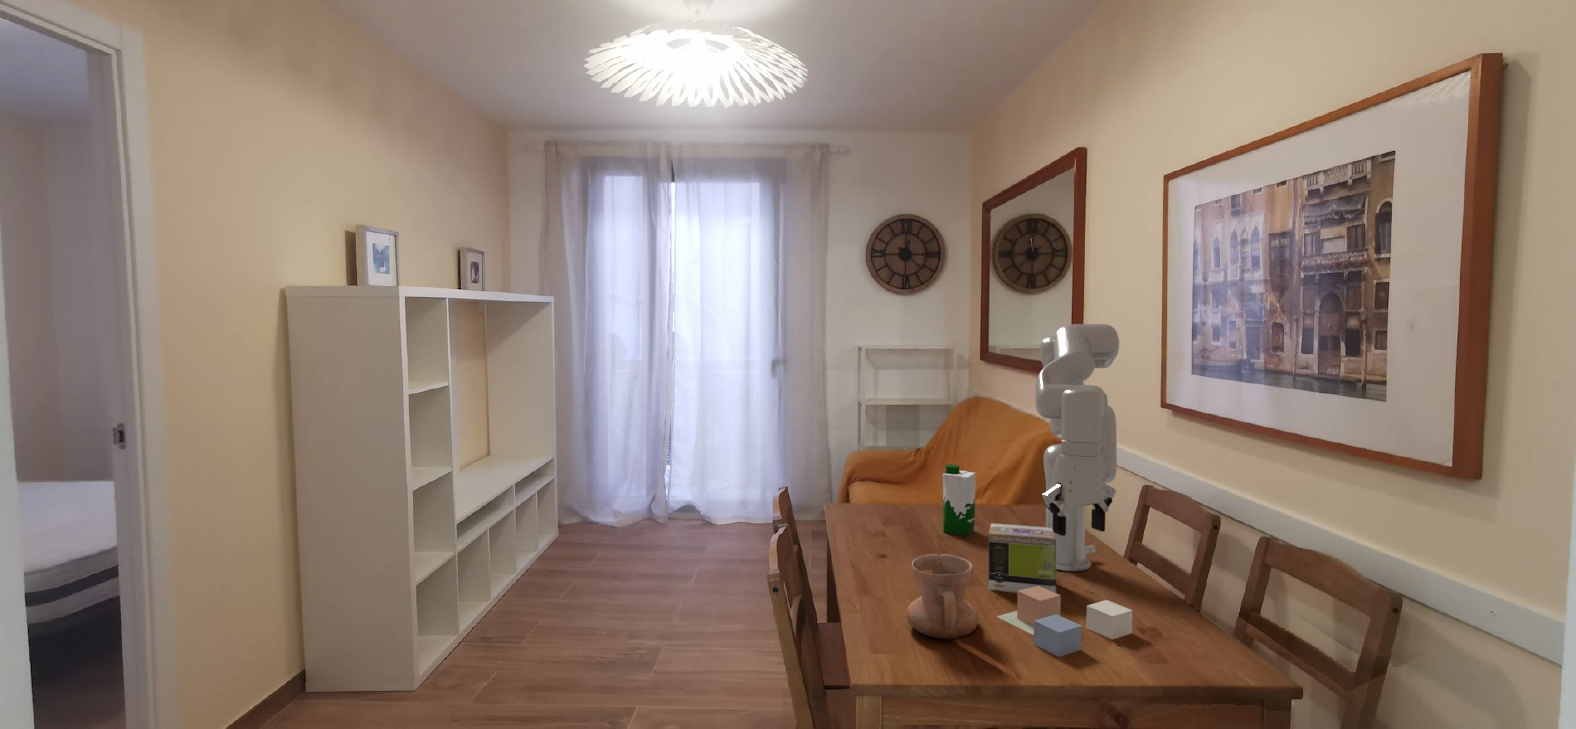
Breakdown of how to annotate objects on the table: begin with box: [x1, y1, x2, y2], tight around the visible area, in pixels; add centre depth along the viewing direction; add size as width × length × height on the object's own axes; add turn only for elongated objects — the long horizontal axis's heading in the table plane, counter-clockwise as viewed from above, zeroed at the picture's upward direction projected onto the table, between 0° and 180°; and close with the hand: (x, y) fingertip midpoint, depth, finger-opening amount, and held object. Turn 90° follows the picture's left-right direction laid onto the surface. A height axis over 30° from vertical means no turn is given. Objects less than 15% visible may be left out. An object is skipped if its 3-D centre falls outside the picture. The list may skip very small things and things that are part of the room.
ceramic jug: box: [906, 553, 979, 640], centre depth 145 cm, size 18×14×14 cm
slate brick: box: [1033, 614, 1082, 658], centre depth 135 cm, size 6×6×6 cm
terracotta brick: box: [1016, 586, 1062, 627], centre depth 147 cm, size 6×6×6 cm
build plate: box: [995, 610, 1083, 636], centre depth 147 cm, size 12×12×1 cm
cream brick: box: [1085, 599, 1133, 640], centre depth 143 cm, size 6×6×6 cm
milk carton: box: [942, 464, 976, 537], centre depth 213 cm, size 9×9×20 cm
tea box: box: [987, 522, 1057, 594], centre depth 167 cm, size 15×10×15 cm
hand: (1078, 531), depth 145 cm, fingers open, 9 cm apart
